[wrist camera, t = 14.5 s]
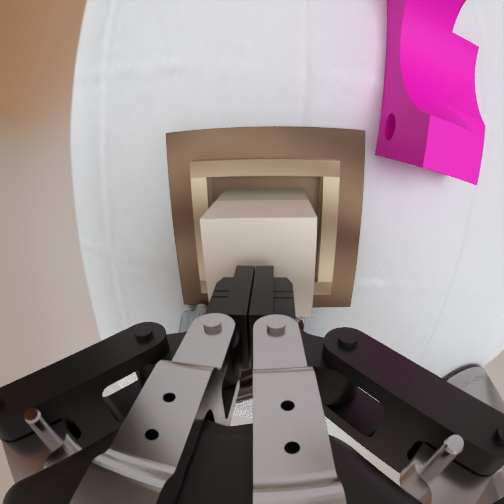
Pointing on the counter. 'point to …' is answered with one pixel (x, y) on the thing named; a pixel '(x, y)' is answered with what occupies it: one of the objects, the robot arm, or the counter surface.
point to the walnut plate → (271, 176)
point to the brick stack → (262, 238)
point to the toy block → (430, 91)
